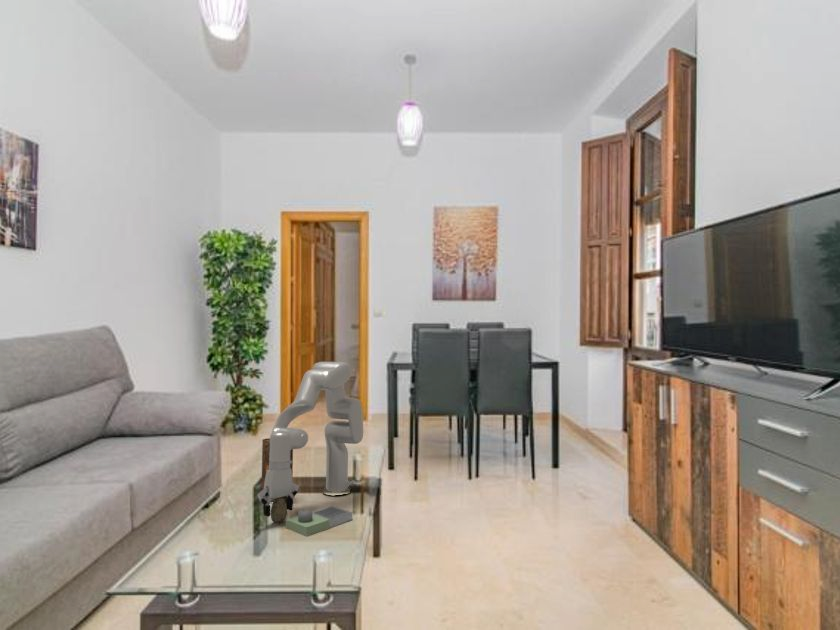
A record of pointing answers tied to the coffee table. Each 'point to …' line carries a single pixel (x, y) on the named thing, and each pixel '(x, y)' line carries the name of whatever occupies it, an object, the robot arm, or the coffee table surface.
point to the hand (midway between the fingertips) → (278, 512)
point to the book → (266, 462)
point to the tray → (334, 515)
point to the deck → (307, 523)
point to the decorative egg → (278, 510)
